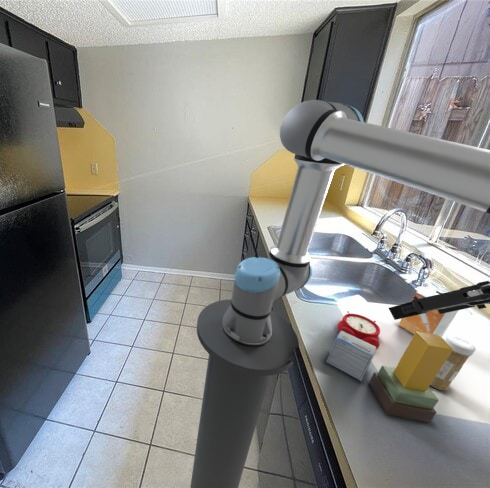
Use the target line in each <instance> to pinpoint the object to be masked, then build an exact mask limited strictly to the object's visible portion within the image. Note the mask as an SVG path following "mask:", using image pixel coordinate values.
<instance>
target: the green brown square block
mask: <svg viewBox="0 0 490 488" xmlns="http://www.w3.org/2000/svg"><path fill="white" fill-rule="evenodd" d="M395 368H396V367H393V366H387V365H381V367H380V369H379V370H378V372H376V371H375V372H374V371H373V374H372V375H371V376H370V379H369V381H368V383H369V385H370V387H371V389H372V390H373V392H374V395H375V396H376V398H377V399H378V401H379V403H380V405H381V406H382V408H383V410H384V411H385V413H386V415H390V416H393V417H394V416H395V417H398V418H405V419H409V420H413V421H418V422H424V423H427V424H430V423H431V421H432V420H433V419H434V418H435V416H436V415H437V410H436V409H435V407H436V405H437V404H438V403H439V401H440V399H439V397H437V395H436V394H435V393H434V391H433V390H432V389H431V387H430V386H429V387H428V389H427V390H426V392H425V391H420V390H415V389H409V388H404V387H403V385H402V384H401V382H400V381H399V379H398V378H397V377H396V375H395V374H394V370H395Z"/></svg>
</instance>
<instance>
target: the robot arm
mask: <svg viewBox="0 0 490 488" xmlns="http://www.w3.org/2000/svg"><path fill="white" fill-rule="evenodd" d="M279 138H280V139H279V140H280V142H281V144H282V146H283V147H284V148H285V150H287V151H288V152H290V153H292V154H294V157H293V160H294V162H295V163H296V166H297V170H296V173H295V177H294V180H293V184H292V188H291V191H290V195H289V199H288V202H287V206H286V209H285V212H284V213H285V214H284V217H283V220H282V224H281V228H280V232H279V235H278V239H277V241H276V242H277V243H276V244H274V245H273V246H271V247H270V249H269V252H268V256H267V258H266V257H261V256H258V257H256V256H252V257H248V258H245V259H243V260H242V261H240V262H239V264H238V265H237V268H236V271H235V273H234V281H233V288H232V295H231V299H232V300H231V299H230V300H231V305H230V306H229V308H228V309H227V311H226V313H225V314H224V316H223V319H222V329H223V331H224V333H225V334H226V335H227V336H228V337H229V338H230V339H231V340H233V341H234V342H236V343H239V344H241V345H244V346H249V347H259V346H263V345H265V344H267V343H268V342H269V341H270V339H271V335H272V326H271V319H270V312H271V310H272V307H273V303H274V301H275V300H277V299H279V298H282V297H284V296H287V295H288V294H291V293H293V292H296V291H298V290H300V289H302V288H304V287H305V286H306V285H307V284H308V283H309V282H310V281H311V279H312V276H313V267H312V266H311V259H312V257H311V255H310V254H309V252H308V251H309V248H310V245H311V243H312V242H311V241H312V239H313V236H314V233H315V230H316V226H317V224H318V221H319V217H320V215H321V212H322V209H323V205H324V203H325V199H326V197H327V194H328V191H329V188H330V185H331V182H332V179H333V176H334V173H335V171H336V170H338V169H339V168H341V167H342V166H344V165H345V166H348V167H351V168H354V169H357V170H360V171H363V172H366V173H369V174H372V175H374V176H375V175H376V176H378V177H380V178H384V179H387V180H389V181H393V182H395V183H399V184H402V185H403V186H407V187H411V188H413V189H416V190H419V191H422V192H425V193H429V194H430V195H434V196H437V197H439V198H443V199H446V200H448V201H452V202H455V203H458V204H460V205H462V206H463V205H464V206H467V207H469V208H473V209H475V210H479V211H482V212H483V213H484V212H485V213H487V214H489V215H490V149H487V148H482V147H477V146H474V145H469V144H465V143H461V142H456V141H451V140H446V139H442V138H437V137H433V136H429V135H423V134H420V133H415V132H410V131H405V130H402V129H398V128H397V129H396V128H392V127H388V126H383V125H378V124H373V123H369V122H365V120H364V117H363V115H362V114H361V112H360V111H359V110H358V109H357V108H355V107H353V106H352V105H349V104H346V103H342V102H341V103H340V102H332V101H326V100H325V101H324V100H319V99H310V100H305V101H301V102H300V103H298V104H296V105H295V106H293V107H292V108H291V109H290V110H289V111H288V112H287V113H286V114H285V116H284V117H283V119H282V121H281V123H280V127H279ZM412 298H413V299H414V300H412V299H411V300H412V301H411V300H410V301H408V302H405V303H401V304H398V305H394V306H390V307H388V311H389V312H390V315H391V316H392V317H393V320H394V321H397V320H401V319H402V318H406V317H410V316H415V315H419V314H424V313H427V312H428V311H433V310H438V312H439V313H440V314H443V313H448V312H452V311H457V310H458V311H462V310H465V309H471V308H475V307H477V309H478V310H481V309H483V310H484V309H486V308H487V306H486V305H490V281H489V280H485V281H480V282H477V283H476V284H472V285H469V286H463V287H460V288H459V289H456V290H455V289H454V290H451V291H446V292H443V293H442V292H441V293H438V295H433V296H429V297H425V298H421V299H418V298H417V297H413V296H412Z"/></svg>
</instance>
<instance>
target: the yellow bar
mask: <svg viewBox="0 0 490 488" xmlns="http://www.w3.org/2000/svg"><path fill="white" fill-rule="evenodd" d="M452 351H453V349H452V348H451V347H450V346H449V345H448V344H447V343H446V342H445V339H443V338H442V337H440V336H439V335H436V334H430V333H423V332H417V331H416V332H415V334H413V336H412V337H411V340H410V341H409V343H408V344H407V347H406V348H405V350H404V351H403V353H402V356H401V358H400V359H399V361H398V363H397V365H396V366H395V367H394V368H395V370H394V374H395V375H396V377H397V378H398V379H399V381H400V382H401V384H402V385H403V387H404V388H409V389H415V390H420V391H425V392H426V390H427V389H428V387H429V388H430V387H431V385H430V384H431V383H432V381H433V380H434V378H435V377H436V375H437V373H438V372H439V370H440V369H441V367H442V366H443V364H444V363H445V361H446V360H447V358H448V357H449V355H450V354H451V352H452Z"/></svg>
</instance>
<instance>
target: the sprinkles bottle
mask: <svg viewBox="0 0 490 488" xmlns="http://www.w3.org/2000/svg"><path fill="white" fill-rule="evenodd" d="M444 341H445V342H446V343H447V344H448V345H449V346H450V347H451V348H452V349H453V351H452V352H451V354H450V355H449V357H448V358H447V360H446V361H445V363H444V364H443V366H442V367H441V369H440V370H439V372H438V373H437V375H436V377H435V378H434V380H433V381H432V383H431V384H430V387H432V388H434V389H437V390H438V391H447V390H449V387H450V385H451V384H452V383H453V381H454V380H455V379H456V378H457V375H458V374H459V373H460V371H461V370H462V369H463V366H464V365H465V364H466V361H467V360H468V358H469V357H471V356H472V355H473V354H474V353H475V352H476V349H477V347H476V346H475V344H474V343H472V342H471V341H469V340H468V339H466V338H463V337H461V336H458V335H453V334H450V335H447V337H445V339H444Z"/></svg>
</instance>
